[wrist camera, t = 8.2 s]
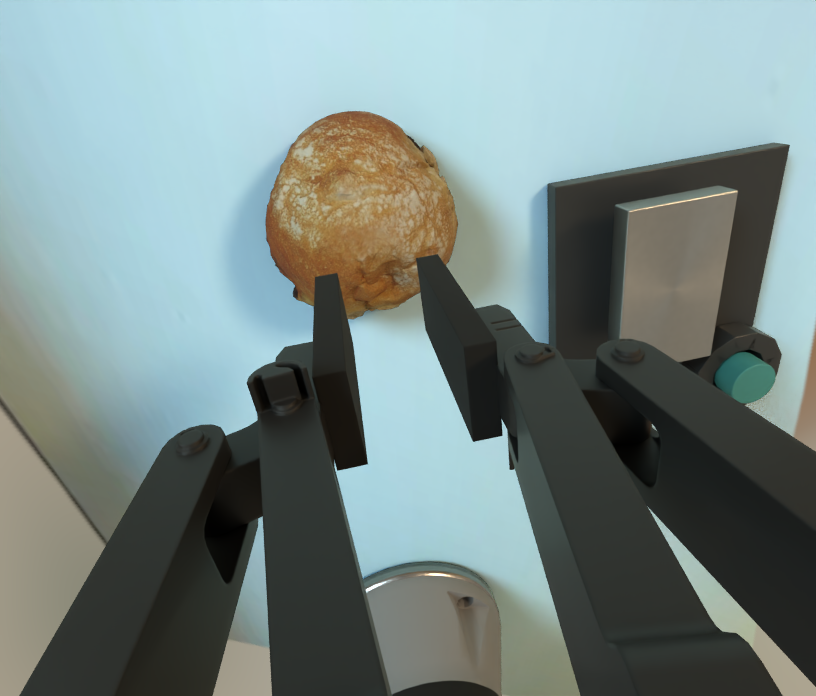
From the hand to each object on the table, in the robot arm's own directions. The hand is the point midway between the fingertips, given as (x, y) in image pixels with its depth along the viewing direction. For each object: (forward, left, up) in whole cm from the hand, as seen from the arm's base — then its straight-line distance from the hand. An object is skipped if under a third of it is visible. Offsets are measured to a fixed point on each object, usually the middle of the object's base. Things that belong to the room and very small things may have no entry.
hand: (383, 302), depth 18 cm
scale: (-8, -18, -13) cm, 23 cm away
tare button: (-14, -23, -10) cm, 29 cm away
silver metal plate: (-6, -16, -10) cm, 20 cm away
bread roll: (0, 0, -13) cm, 13 cm away
